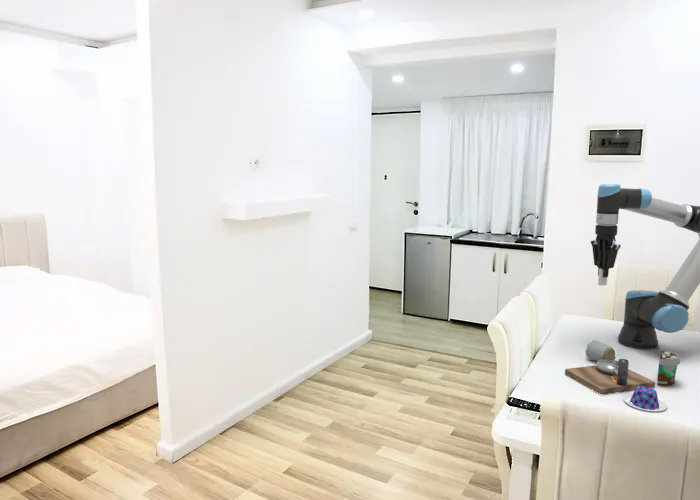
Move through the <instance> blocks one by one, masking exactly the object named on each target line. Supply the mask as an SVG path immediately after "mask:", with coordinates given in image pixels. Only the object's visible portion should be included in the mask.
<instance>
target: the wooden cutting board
mask: <svg viewBox="0 0 700 500" xmlns="http://www.w3.org/2000/svg"><path fill="white" fill-rule="evenodd" d="M564 375H565V376H567V377H569V378H571V379H573V380H574V381H576V382H578V383H579V384H582V385H583V386H585V387H586V386H587V387H586V388H588V387H589V388H588V389H590V388H591V389H590V390H592V389H593V390H594V392H595V391H596V392H595V393H597V392H598V393H597V394H599V393H600V394H604V395H609V394H608V393H612V394H617V393H616V392H619V393H625V392H624V391H626V392H632V391H633V392H634V390H635V388H636V387H638V386H646V387H650V388H652V389H655V388H656V381H654V380H652V379H650V378H648V377H646V376H644V375H641V374H640V373H637V372H636V371H633V370H632V369H629V368H628V376H627V384H626V385H621V384H618V383H617V380H616V378H615V377H614V376H613V375H612V374H607V373H604V372H601V371H599V370H598V369H597V364H595V365H587V366H578V367H571V368H570V367H569V368H565V369H564ZM593 390H592V391H593ZM600 394H599V395H600Z"/></svg>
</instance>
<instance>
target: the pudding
mask: <svg viewBox="0 0 700 500" xmlns="http://www.w3.org/2000/svg"><path fill="white" fill-rule="evenodd" d="M628 398H631V400H630V403H629V402H627V401H626V400H627V399H628ZM623 402H625V403H626V404H628V406H630V407H634V408H636V409H639V410H642V411H647V412H663V411H665V410H666V409H667V408H668V406H667V404H666V403H665V402H664V401H663V400H660V399H659V397H658V392H657V391H656V389H655V388H650V387H646V386H638V387H636V388H635V390H633V392H632V394H627V395H625V396H623ZM631 402H632V403H631Z"/></svg>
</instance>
